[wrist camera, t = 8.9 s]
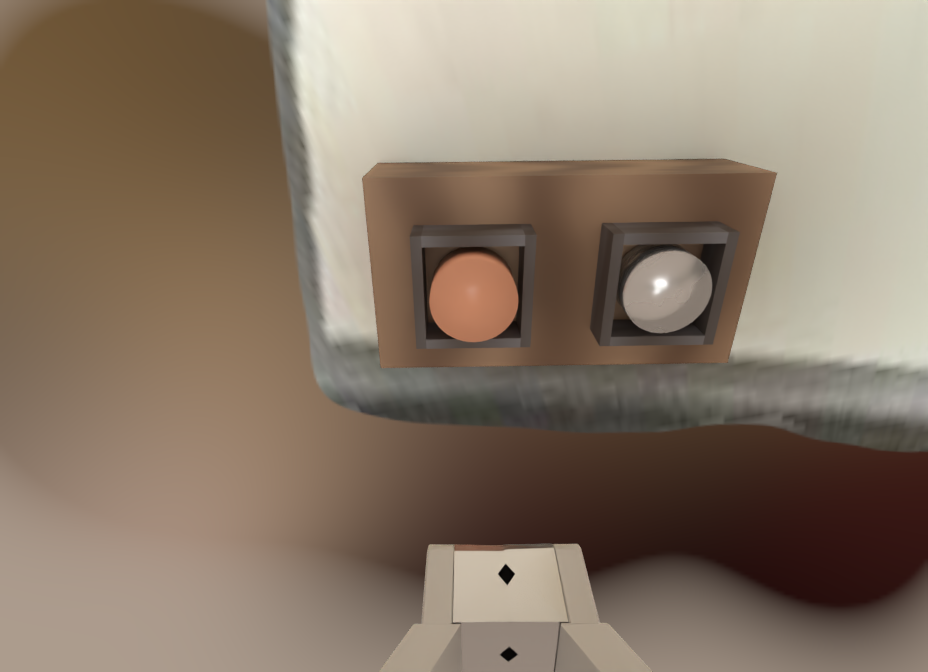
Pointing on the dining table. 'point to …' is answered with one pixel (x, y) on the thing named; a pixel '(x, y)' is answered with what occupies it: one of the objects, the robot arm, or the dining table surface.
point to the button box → (560, 253)
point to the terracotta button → (473, 294)
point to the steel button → (663, 287)
